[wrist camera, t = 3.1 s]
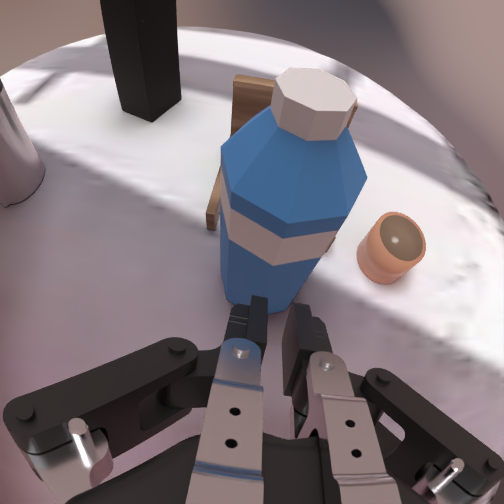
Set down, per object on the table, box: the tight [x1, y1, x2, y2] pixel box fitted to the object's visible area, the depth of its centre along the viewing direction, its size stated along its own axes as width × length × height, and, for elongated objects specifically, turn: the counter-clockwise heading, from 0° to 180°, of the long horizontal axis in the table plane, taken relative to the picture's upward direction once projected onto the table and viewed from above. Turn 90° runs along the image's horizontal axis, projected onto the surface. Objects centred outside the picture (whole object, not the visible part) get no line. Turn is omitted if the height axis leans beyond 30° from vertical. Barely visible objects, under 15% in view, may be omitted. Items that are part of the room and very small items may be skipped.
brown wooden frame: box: [206, 74, 358, 252], centre depth 35 cm, size 15×15×13 cm
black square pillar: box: [100, 0, 181, 122], centre depth 35 cm, size 8×8×28 cm
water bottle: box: [220, 68, 367, 314], centre depth 24 cm, size 9×9×25 cm
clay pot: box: [357, 212, 426, 284], centre depth 36 cm, size 7×7×6 cm
